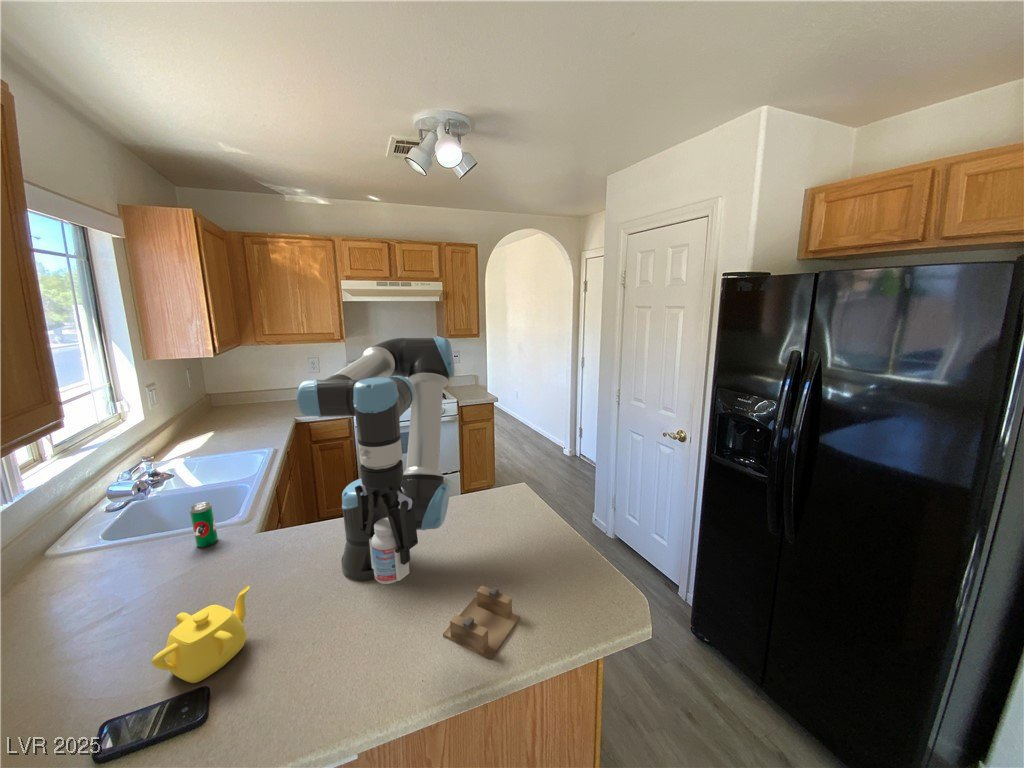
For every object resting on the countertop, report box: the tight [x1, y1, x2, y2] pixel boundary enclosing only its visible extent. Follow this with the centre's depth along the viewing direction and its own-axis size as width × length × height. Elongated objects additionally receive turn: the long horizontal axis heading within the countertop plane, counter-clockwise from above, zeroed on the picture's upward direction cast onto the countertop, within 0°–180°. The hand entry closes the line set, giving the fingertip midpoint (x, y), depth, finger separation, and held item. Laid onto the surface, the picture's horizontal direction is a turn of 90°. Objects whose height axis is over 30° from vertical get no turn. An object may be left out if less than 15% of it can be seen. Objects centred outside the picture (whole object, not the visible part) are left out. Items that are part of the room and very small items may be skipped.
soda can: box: [189, 501, 219, 548], centre depth 116 cm, size 5×5×12 cm
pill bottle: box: [371, 518, 398, 585], centre depth 79 cm, size 6×6×11 cm
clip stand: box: [442, 585, 521, 661], centre depth 87 cm, size 12×12×6 cm
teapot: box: [151, 585, 251, 684], centre depth 79 cm, size 14×13×10 cm
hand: (390, 570), depth 80 cm, fingers closed on pill bottle, 6 cm apart
